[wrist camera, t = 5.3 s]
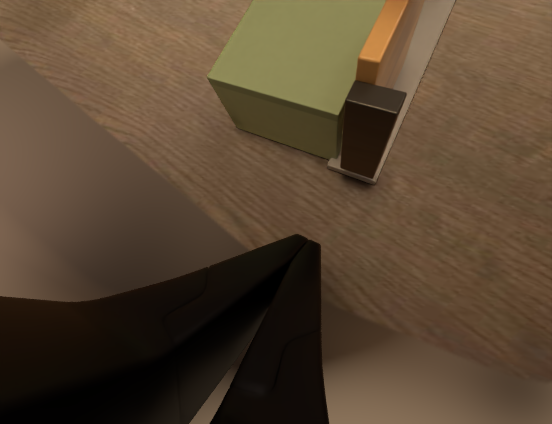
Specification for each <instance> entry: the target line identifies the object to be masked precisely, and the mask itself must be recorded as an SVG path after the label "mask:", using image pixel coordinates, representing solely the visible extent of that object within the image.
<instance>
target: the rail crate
mask: <svg viewBox="0 0 552 424" xmlns="http://www.w3.org/2000/svg"><path fill="white" fill-rule="evenodd" d="M385 1H386V0H253V1H252V3H251V4H250V6H249V8H248V9H247V11H246V13H245V14H244V16H243V18H242V19H241V21H240V23H239V24H238V26H237V28H236V29H235V31H234V33H233V34H232V36H231V38H230V39H229V41H228V43H227V44H226V46H225V48H224V49H223V51H222V52H221V54H220V56H219V57H218V59H217V61H216V62H215V64H214V66H213V67H212V69H211V71H210V72H209V74H208V76H207V79H208V80H209V82H210V84H211V85H212V87H213V88H214V90H215V92H216V93H217V95H218V97H219V98H220V100H221V102H222V104H223V105H224V107H225V109H226V110H227V112H228V114H229V115H230V117H231V119H232V120H233V122H234V124H235V125H236V127H237V128H239V129H242V130H245V131H248V132H250V133H253V134H256V135H259V136H262V137H265V138H268V139H271V140H274V141H277V142H279V143H282V144H285V145H288V146H291V147H294V148H297V149H300V150H303V151H305V152H308V153H311V154H314V155H317V156H320V157H323V158H326V159H329V162H328V164H327V168H328V169H331V170H334V171H337V172H339V173H342V174H345V175H348V176H351V177H353V178H356V179H359V180H362V181H365V182H367V183H370V184H373V185H375V183H376V181H377V178H378V176H379V174H380V171H381V169H382V167H383V165H384V162H385V160H386V158H387V156H388V153H389V151H390V149H391V146H392V144H393V142H394V140H395V137H396V135H397V133H398V130H399V128H400V126H401V124H402V121H403V119H404V117H405V115H406V112H407V110H408V108H409V105H410V103H411V101H412V99H413V96H414V94H415V92H416V90H417V87H418V85H419V83H420V80H421V78H422V76H423V74H424V71H425V69H426V67H427V64H428V62H429V60H430V58H431V55H432V53H433V51H434V49H435V46H436V44H437V42H438V39H439V37H440V35H441V33H442V30H443V28H444V26H445V24H446V21H447V19H448V17H449V14H450V12H451V10H452V8H453V5H454V3H455V1H456V0H425V1H424V4H423V7H422V10H421V13H420V16H419V19H418V22H417V25H416V28H415V31H414V34H413V37H412V41H411V44H410V47H409V50H408V53H407V56H406V59H405V62H404V65H403V67H402V69H401V72H400V74H399V76H398V78H397V80H396V82H395V85H394V87H393V89H394V90H399V91H403V92H406V93H407V96H406V98H405V101H404V103H403V106H402V108H401V111H400V113H399V116H398V119H397V121H396V124H395V126H394V129H393V131H392V134H391V136H390V139H389V141H388V144H387V146H386V149H385V152H384V154H383V157H382V159H381V162H380V164H379V167H378V169H377V171H376V173H375V176H374V178H373V179H370V178H367V177H365V176H362V175H359V174H356V173H353V172H350V171H348V170H345V169H342V168H340V162H341V148H342V134H343V120H344V106H345V99H346V97H347V95H348V93H349V91H350V89H351V87H352V85H353V82H354V81H355V78H356V69H357V60H358V56H359V54H360V52H361V50H362V48H363V46H364V44H365V42H366V40H367V38H368V36H369V34H370V32H371V30H372V28H373V26H374V24H375V22H376V20H377V18H378V16H379V14H380V12H381V10H382V8H383V6H384V4H385Z"/></svg>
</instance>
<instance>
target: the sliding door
mask: <svg viewBox="0 0 552 424" xmlns="http://www.w3.org/2000/svg"><path fill="white" fill-rule="evenodd" d="M424 1H425V0H386V1H385V4H384V6H383V8H382V10H381V12H380V14H379V16H378V18H377V20H376V22H375V24H374V26H373V28H372V30H371V32H370V34H369V36H368V38H367V40H366V42H365V44H364V46H363V48H362V50H361V52H360V54H359V56H358V60H357V69H356V78H355V81H354V82H353V85H352V87H351V89H350V91H349V93H348V95H347V97H346V99H345V106H344V120H343V134H342V148H341V162H340V168H342V169H345V170H348V171H350V172H353V173H356V174H359V175H362V176H365V177H367V178H370V179H373V178H374V176H375V173H376V171H377V169H378V167H379V164H380V162H381V159H382V157H383V154H384V152H385V149H386V146H387V144H388V141H389V139H390V136H391V134H392V131H393V129H394V126H395V124H396V121H397V119H398V116H399V113H400V111H401V108H402V106H403V103H404V101H405V98H406V96H407V93H406V92H403V91H399V90H394V89H393V87H394V85H395V82H396V80H397V78H398V76H399V74H400V72H401V69H402V67H403V65H404V62H405V59H406V56H407V53H408V50H409V47H410V44H411V41H412V37H413V34H414V31H415V28H416V25H417V22H418V19H419V16H420V13H421V10H422V7H423V4H424Z"/></svg>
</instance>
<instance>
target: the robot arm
mask: <svg viewBox="0 0 552 424" xmlns="http://www.w3.org/2000/svg"><path fill="white" fill-rule="evenodd" d="M255 333H256V334H255ZM254 335H255V336H254ZM253 336H254V338H253V340H252V342H251V344H250V346H249V348H248V350H247V352H246V354H245V356H244V358H243V361H242V362H241V364H240V367H239V369H238V371H237V373H236V375H235V377H234V379H233V381H232V383H231V385H230V388H229V389H228V391H227V393H226V395H225V397H224V399H223V401H222V403H221V405H220V407H219V408H218V410H217V412H216V414H215V415H214V417H213V419H212V421H211V422H210V424H329V419H328V412H327V404H326V396H325V388H324V379H323V369H322V348H321V245H320V244H319V243H317V242H314V241H312V240H308V239H307V238H306V237H304V236H301V235H299V234H295V235H292V236H289V237H287V238H284V239H281V240H279V241H276V242H273V243H270V244H268V245H265V246H262V247H260V248H257V249H254V250H252V251H249V252H246V253H244V254H241V255H238V256H236V257H233V258H230V259H228V260H225V261H222V262H220V263H217V264H214V265H211V266H210V267H209V268H208V267H206V268H203V269H201V270H198V271H195V272H192V273H189V274H186V275H183V276H180V277H177V278H174V279H171V280H167V281H164V282H160V283H157V284H153V285H149V286H146V287H143V288H138V289H135V290H131V291H127V292H124V293H120V294H116V295H112V296H109V297H105V298H100V299H96V300H90V301H81V302H60V301H48V300H37V299H26V298H14V297H13V298H12V297H2V296H0V424H189V423H190V422H191V420H192V419H193V417H194V416H195V415H196V413H197V412H198V411H199V409H200V408H201V406H202V405H203V404H204V403H205V401H206V400H207V399H208V397H209V396H210V394H211V393H212V392H213V390H214V389H215V388H216V386H217V385H218V384H219V382H220V381H221V380H222V378H223V377H224V375H225V374H226V373H227V371H228V370H229V369H230V367H231V366H232V365H233V363H234V362H235V360H236V359H237V358H238V356H239V355H240V354H241V352H242V351H243V350H244V348H245V347H246V346H247V344H248V343H249V341H250V340H251V339H252V337H253Z"/></svg>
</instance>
